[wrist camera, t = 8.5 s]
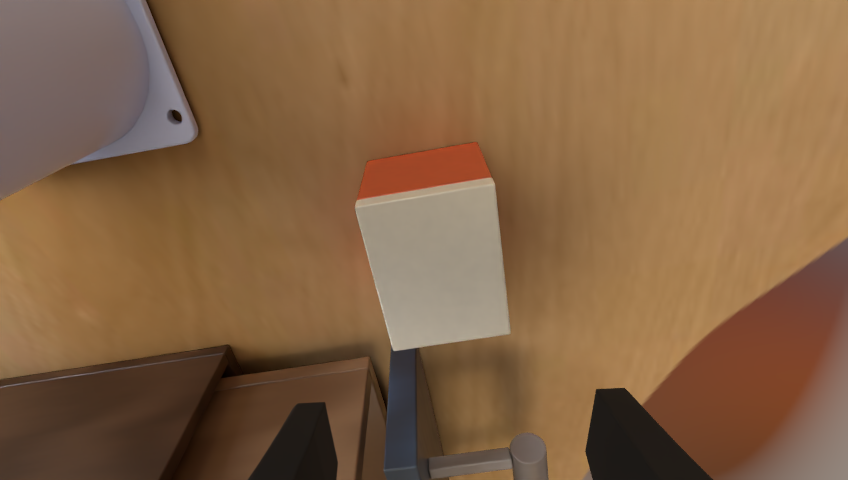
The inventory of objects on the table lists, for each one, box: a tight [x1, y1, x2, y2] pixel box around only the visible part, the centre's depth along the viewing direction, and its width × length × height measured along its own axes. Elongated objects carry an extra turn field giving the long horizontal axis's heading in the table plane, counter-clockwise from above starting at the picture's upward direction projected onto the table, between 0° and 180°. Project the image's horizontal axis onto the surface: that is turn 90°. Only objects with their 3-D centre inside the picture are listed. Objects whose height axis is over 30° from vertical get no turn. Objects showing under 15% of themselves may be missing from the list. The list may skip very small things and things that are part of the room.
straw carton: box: [355, 142, 511, 351], centre depth 17 cm, size 6×4×4 cm
